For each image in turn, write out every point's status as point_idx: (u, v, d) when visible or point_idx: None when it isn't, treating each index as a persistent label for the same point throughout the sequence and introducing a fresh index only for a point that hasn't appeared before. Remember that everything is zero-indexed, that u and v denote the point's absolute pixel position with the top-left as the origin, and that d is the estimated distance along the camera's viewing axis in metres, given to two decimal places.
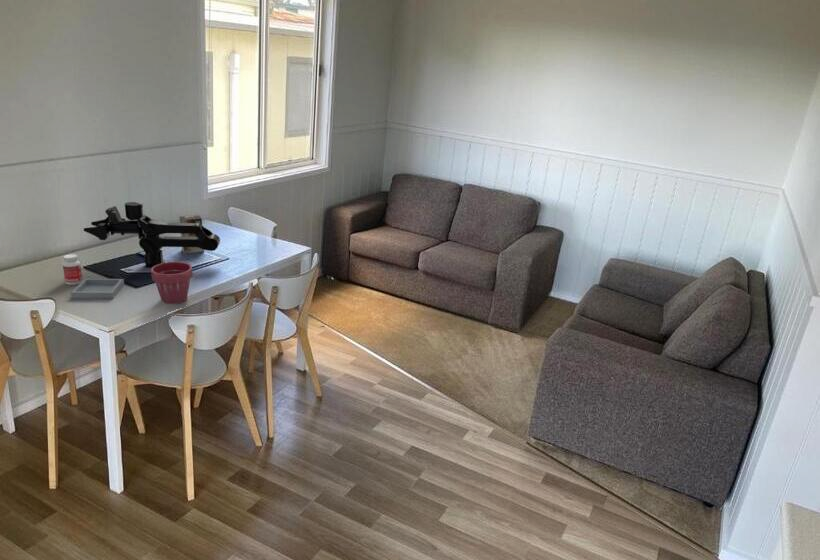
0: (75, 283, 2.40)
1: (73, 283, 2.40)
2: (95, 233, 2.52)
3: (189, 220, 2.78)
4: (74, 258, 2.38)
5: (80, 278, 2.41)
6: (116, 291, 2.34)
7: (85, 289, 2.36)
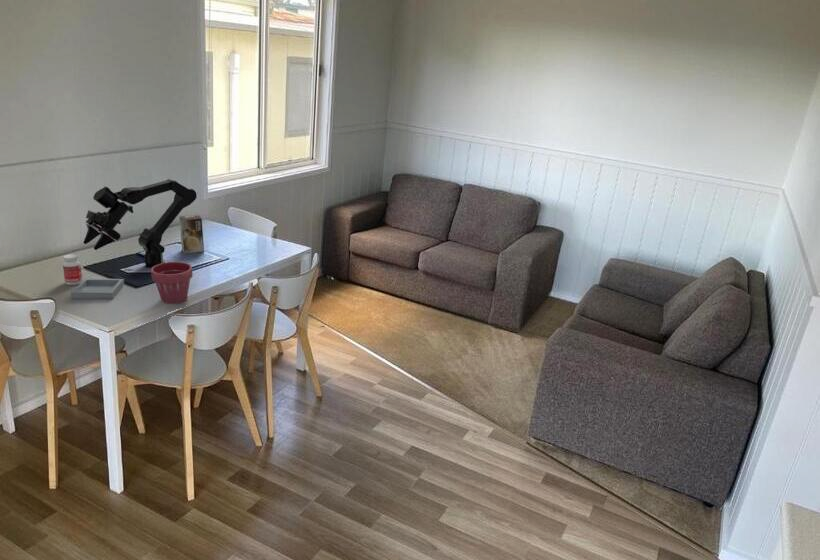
0: (75, 283, 2.40)
1: (73, 283, 2.40)
2: (106, 241, 2.42)
3: (189, 220, 2.78)
4: (74, 258, 2.38)
5: (80, 278, 2.41)
6: (116, 291, 2.34)
7: (85, 289, 2.36)
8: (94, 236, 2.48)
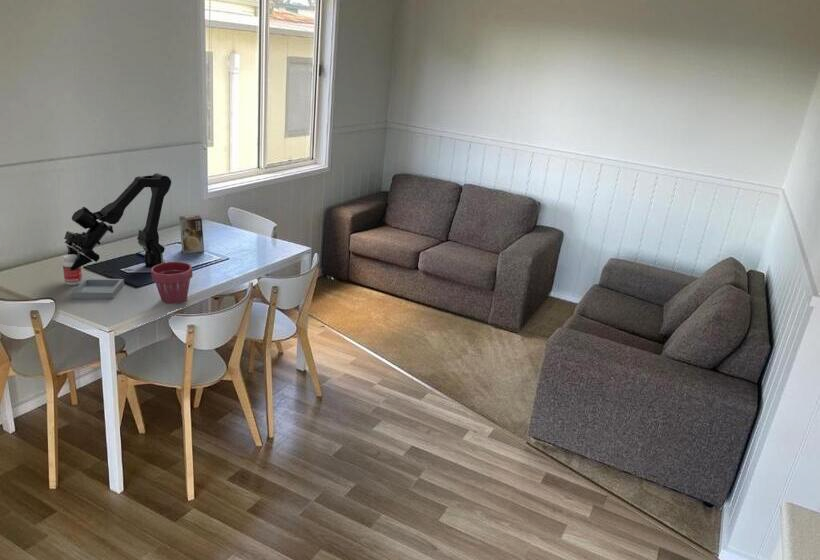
0: (75, 283, 2.40)
1: (73, 283, 2.40)
2: (83, 262, 2.38)
3: (189, 220, 2.78)
4: (74, 258, 2.38)
5: (80, 278, 2.41)
6: (116, 291, 2.34)
7: (85, 289, 2.36)
8: None
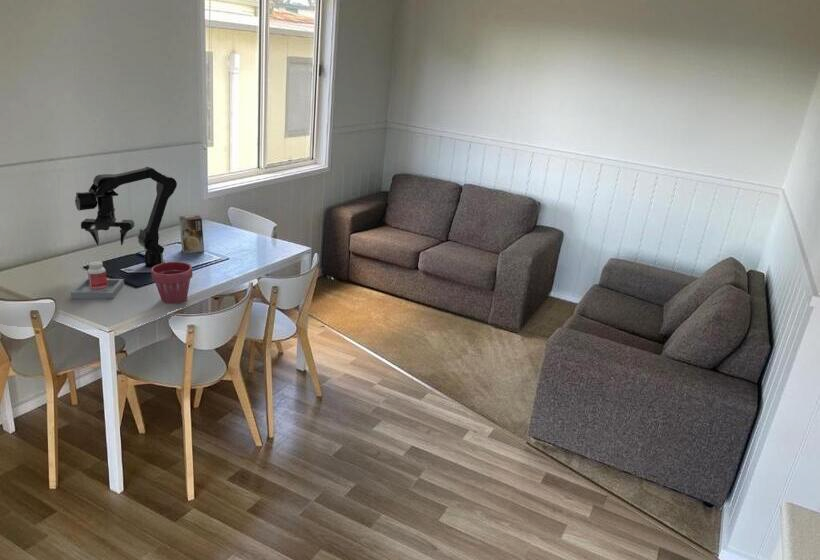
0: (104, 290, 2.35)
1: (102, 290, 2.34)
2: (125, 232, 2.51)
3: (189, 220, 2.78)
4: (101, 264, 2.32)
5: None
6: (116, 291, 2.34)
7: (85, 289, 2.36)
8: (97, 232, 2.50)
